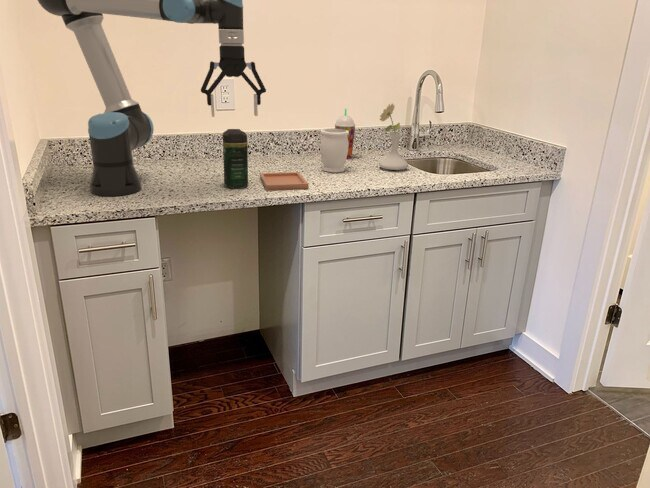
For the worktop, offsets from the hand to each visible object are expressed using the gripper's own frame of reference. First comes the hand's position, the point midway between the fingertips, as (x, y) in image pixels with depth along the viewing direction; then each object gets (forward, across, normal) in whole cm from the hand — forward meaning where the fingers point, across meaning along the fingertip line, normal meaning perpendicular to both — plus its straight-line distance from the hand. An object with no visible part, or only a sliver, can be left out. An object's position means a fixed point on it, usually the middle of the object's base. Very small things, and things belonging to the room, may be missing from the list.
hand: (234, 115), depth 171 cm
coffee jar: (+23, 0, 0) cm, 23 cm away
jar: (+23, +38, +16) cm, 47 cm away
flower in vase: (+24, +61, +15) cm, 67 cm away
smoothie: (+23, +48, +37) cm, 65 cm away
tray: (+23, +16, 0) cm, 28 cm away
